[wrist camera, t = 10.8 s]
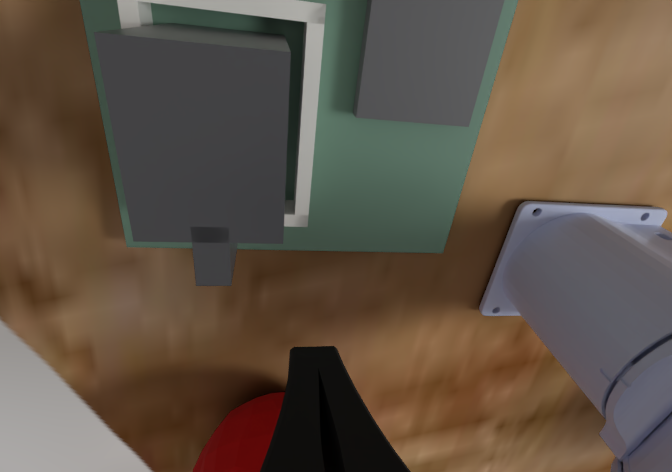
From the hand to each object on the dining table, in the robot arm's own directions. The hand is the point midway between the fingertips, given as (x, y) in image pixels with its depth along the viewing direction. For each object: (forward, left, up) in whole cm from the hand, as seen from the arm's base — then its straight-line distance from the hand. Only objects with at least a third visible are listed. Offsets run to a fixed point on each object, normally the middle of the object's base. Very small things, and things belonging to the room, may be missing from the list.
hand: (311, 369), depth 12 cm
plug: (+3, -6, -8) cm, 11 cm away
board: (0, -6, -9) cm, 11 cm away
